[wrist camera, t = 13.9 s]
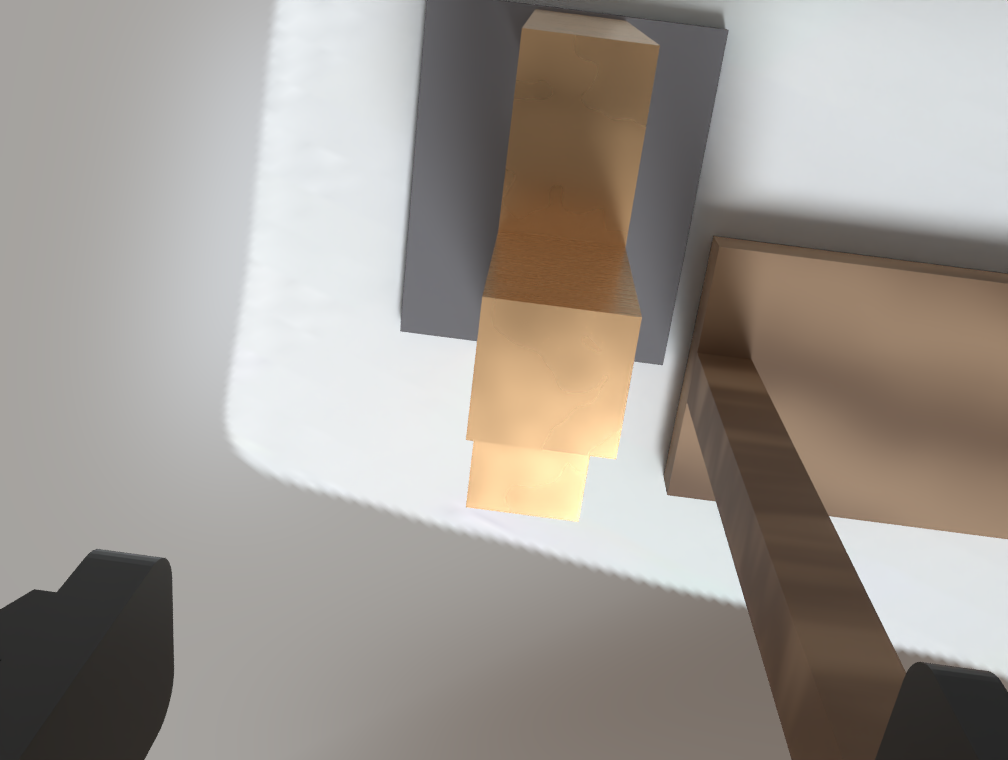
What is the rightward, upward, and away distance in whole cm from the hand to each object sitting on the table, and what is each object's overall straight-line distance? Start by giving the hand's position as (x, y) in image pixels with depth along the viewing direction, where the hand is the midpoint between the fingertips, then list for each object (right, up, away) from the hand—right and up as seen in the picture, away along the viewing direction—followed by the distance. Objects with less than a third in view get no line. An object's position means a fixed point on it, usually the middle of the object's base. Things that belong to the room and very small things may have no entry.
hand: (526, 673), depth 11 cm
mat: (+1, +10, +24) cm, 26 cm away
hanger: (+2, +10, +24) cm, 26 cm away
